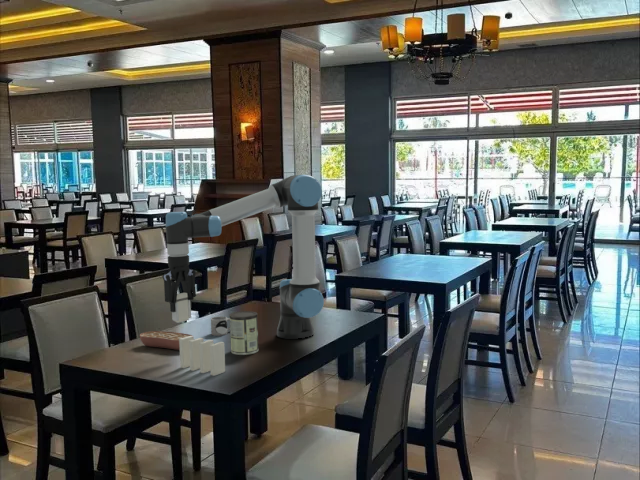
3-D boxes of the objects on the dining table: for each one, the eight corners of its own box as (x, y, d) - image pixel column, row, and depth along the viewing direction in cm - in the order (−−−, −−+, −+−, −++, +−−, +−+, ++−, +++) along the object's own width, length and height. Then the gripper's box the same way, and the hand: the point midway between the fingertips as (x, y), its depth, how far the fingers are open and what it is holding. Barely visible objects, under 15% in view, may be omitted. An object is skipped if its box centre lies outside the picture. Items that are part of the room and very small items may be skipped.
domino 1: (188, 319, 230) (187, 292, 228) (178, 322, 226) (176, 295, 225) (185, 319, 231) (184, 292, 230) (175, 322, 227) (173, 294, 226)
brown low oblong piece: (135, 348, 243) (134, 335, 242) (152, 342, 252) (152, 329, 251) (183, 354, 233) (182, 341, 232) (199, 347, 242) (199, 334, 241)
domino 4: (214, 369, 213) (213, 340, 212) (203, 373, 209) (202, 343, 208) (211, 368, 214) (210, 339, 213) (200, 372, 210) (198, 343, 209)
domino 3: (204, 367, 216) (203, 338, 215) (193, 370, 212) (192, 341, 211) (201, 366, 217) (200, 337, 216) (190, 369, 213) (188, 340, 212)
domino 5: (225, 371, 210) (224, 342, 209) (214, 375, 206) (213, 345, 205) (221, 371, 211) (220, 341, 210) (210, 374, 207) (209, 345, 206)
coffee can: (238, 346, 241) (237, 310, 240) (263, 348, 238) (261, 311, 236) (225, 353, 231) (224, 316, 230) (251, 355, 228) (250, 317, 227)
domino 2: (194, 364, 219) (193, 336, 218) (183, 368, 215) (182, 339, 214) (191, 363, 220) (190, 335, 219) (180, 367, 216) (179, 338, 215)
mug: (216, 336, 257) (216, 320, 257) (208, 333, 262) (207, 318, 262) (237, 332, 264) (236, 316, 263) (228, 329, 269) (228, 314, 268)
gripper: (190, 251, 235) (193, 313, 237) (151, 257, 221) (155, 322, 223) (204, 252, 230) (207, 315, 233) (165, 258, 216) (168, 325, 219)
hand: (181, 318), depth 228 cm, fingers closed on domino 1, 5 cm apart
